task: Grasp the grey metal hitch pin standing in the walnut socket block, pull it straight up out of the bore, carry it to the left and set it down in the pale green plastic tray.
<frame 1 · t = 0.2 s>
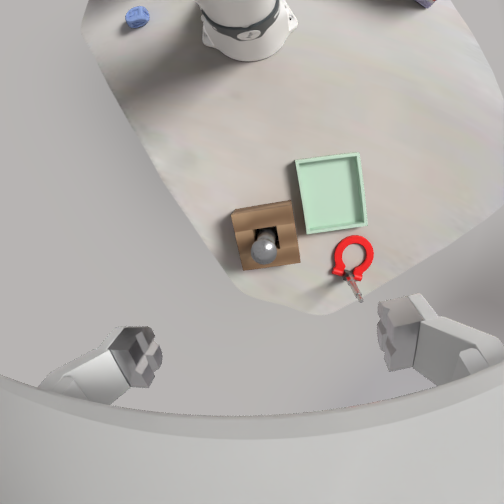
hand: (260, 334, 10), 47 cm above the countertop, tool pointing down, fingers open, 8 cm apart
hitch pin: (266, 240, 52), in the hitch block
tray: (331, 191, 53), on the countertop
tow hook: (352, 256, 57), on the countertop
decorative dice: (141, 20, 43), on the countertop
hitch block: (268, 231, 57), on the countertop
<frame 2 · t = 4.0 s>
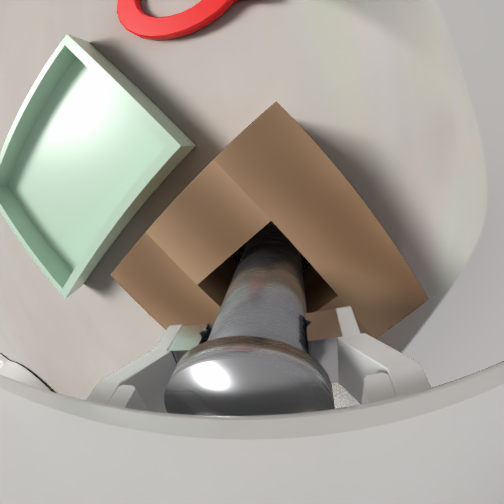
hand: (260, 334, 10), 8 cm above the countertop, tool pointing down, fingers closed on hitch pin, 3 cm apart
hitch pin: (265, 301, 12), in the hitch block, touching gripper
tray: (74, 165, 16), on the countertop
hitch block: (272, 250, 17), on the countertop
when the fingers open (10 cm above the countertop, at t = 11.0 s): hitch pin stays where it is, resting on tray.
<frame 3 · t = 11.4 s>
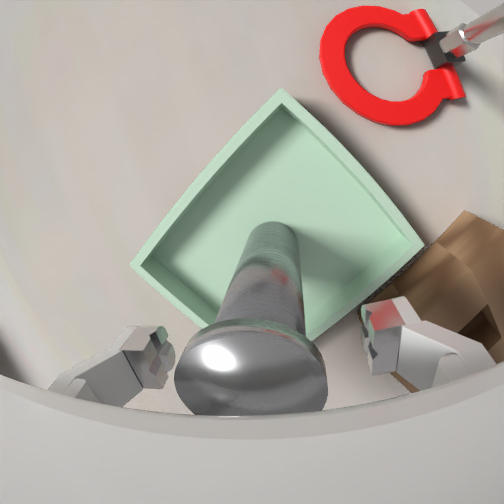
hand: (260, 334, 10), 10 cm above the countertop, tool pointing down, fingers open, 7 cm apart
hitch pin: (265, 292, 13), in the tray, point 6 cm above the countertop
tray: (274, 241, 19), on the countertop
tow hook: (388, 64, 14), on the countertop
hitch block: (445, 306, 19), on the countertop
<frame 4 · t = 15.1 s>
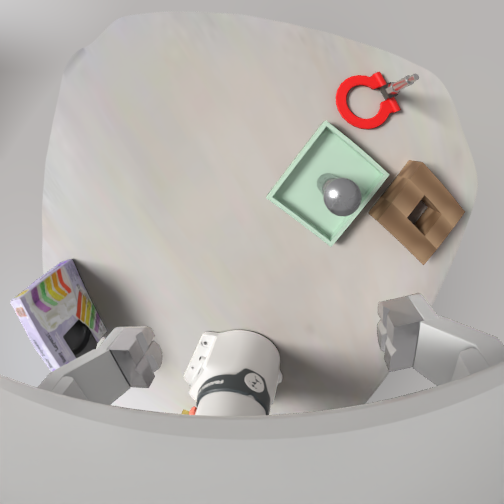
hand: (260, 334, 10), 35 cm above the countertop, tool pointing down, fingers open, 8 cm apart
hitch pin: (334, 189, 35), in the tray, point 6 cm above the countertop
tray: (327, 182, 41), on the countertop
tow hook: (364, 101, 36), on the countertop
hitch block: (412, 208, 41), on the countertop
cake pan box: (85, 298, 55), on the countertop
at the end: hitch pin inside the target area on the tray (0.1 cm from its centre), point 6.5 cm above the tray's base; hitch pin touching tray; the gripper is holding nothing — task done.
